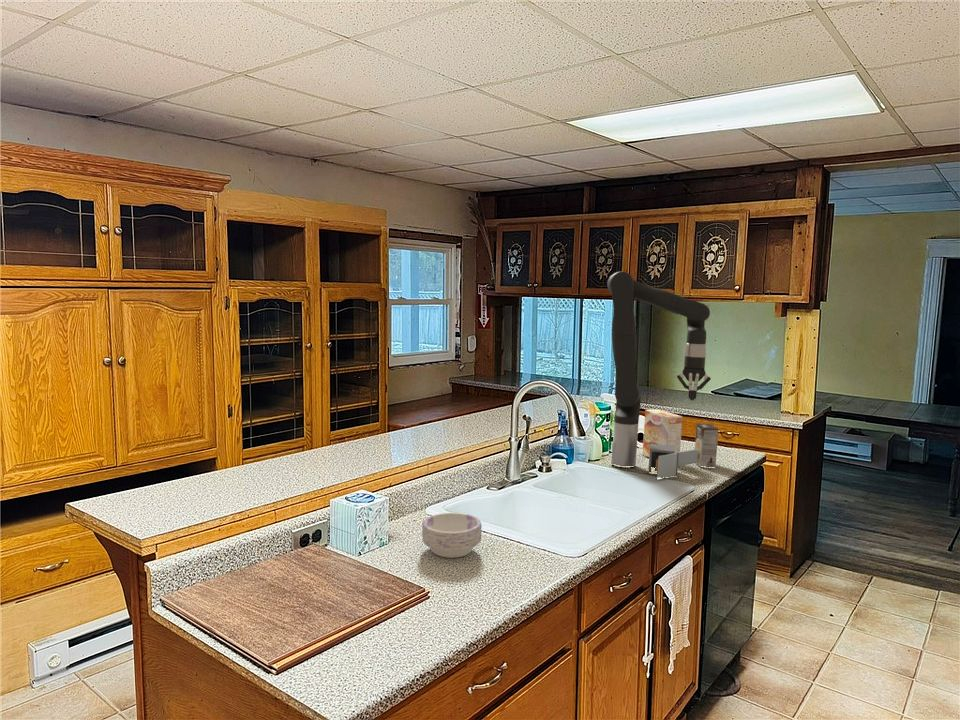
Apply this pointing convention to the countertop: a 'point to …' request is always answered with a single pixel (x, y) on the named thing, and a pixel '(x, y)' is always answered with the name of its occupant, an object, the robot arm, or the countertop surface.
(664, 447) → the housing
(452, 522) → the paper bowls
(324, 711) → the countertop surface
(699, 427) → the coffee box
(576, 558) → the countertop surface
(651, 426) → the coffeecake box
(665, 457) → the door
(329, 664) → the countertop surface
